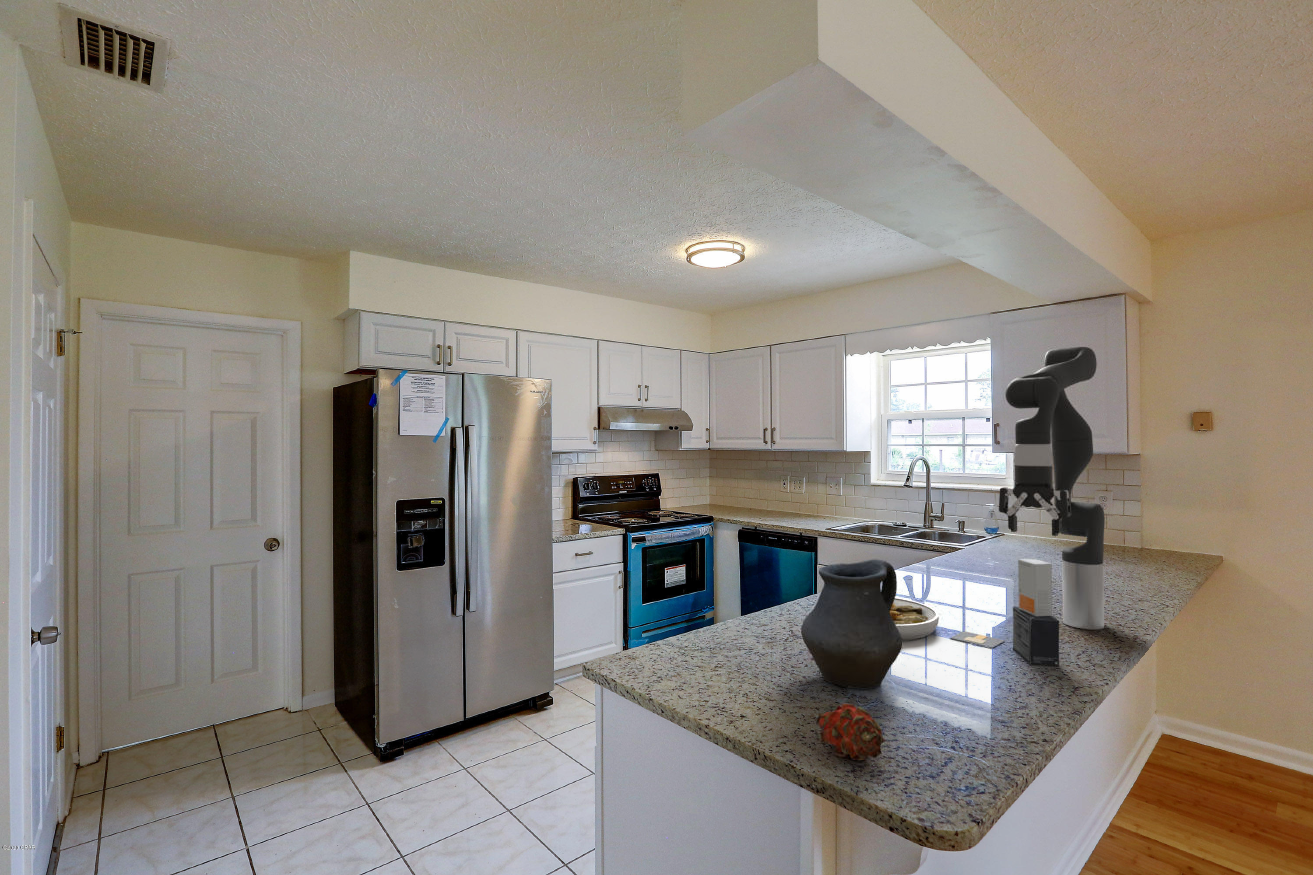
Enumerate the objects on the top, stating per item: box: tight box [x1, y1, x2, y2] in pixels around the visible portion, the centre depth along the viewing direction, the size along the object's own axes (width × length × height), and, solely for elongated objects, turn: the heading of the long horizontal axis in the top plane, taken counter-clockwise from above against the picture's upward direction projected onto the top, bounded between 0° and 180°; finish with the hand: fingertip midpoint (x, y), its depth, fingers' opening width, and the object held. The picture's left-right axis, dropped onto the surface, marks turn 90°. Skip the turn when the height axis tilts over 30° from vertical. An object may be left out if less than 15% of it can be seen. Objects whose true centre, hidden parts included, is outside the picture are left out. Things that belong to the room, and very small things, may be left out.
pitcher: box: [800, 558, 904, 690], centre depth 130 cm, size 21×22×25 cm
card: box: [950, 631, 1006, 649], centre depth 155 cm, size 8×10×1 cm
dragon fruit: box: [815, 702, 886, 762], centre depth 99 cm, size 8×8×12 cm
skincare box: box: [1017, 558, 1053, 616], centre depth 142 cm, size 6×4×12 cm
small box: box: [1012, 606, 1060, 667], centre depth 142 cm, size 11×6×10 cm, turn 169°
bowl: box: [890, 597, 940, 641], centre depth 167 cm, size 30×30×8 cm
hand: (1034, 533), depth 142 cm, fingers open, 8 cm apart
